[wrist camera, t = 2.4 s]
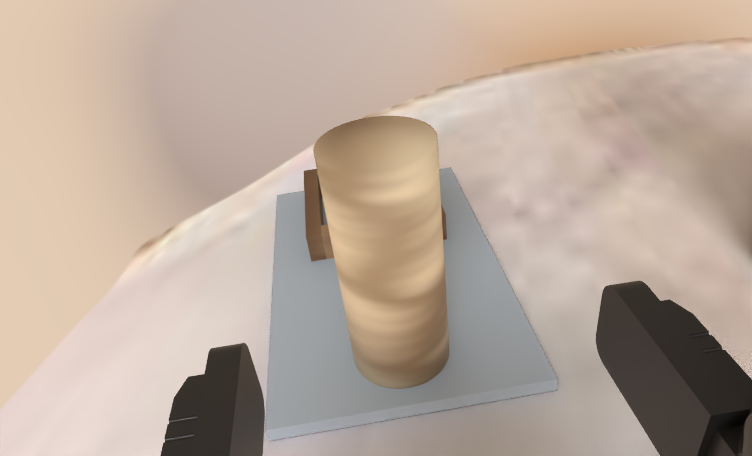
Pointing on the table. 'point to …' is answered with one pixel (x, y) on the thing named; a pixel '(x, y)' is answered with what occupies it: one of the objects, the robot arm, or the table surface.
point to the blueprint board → (333, 346)
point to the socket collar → (314, 221)
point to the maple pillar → (388, 245)
